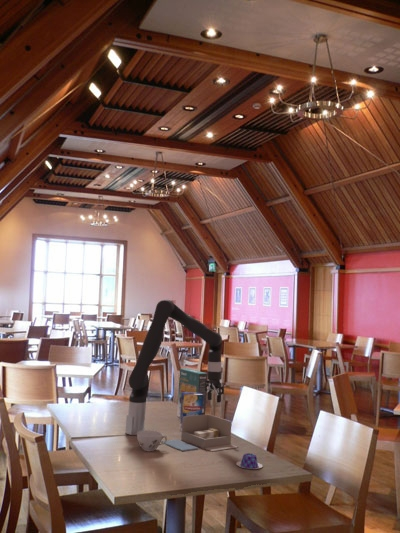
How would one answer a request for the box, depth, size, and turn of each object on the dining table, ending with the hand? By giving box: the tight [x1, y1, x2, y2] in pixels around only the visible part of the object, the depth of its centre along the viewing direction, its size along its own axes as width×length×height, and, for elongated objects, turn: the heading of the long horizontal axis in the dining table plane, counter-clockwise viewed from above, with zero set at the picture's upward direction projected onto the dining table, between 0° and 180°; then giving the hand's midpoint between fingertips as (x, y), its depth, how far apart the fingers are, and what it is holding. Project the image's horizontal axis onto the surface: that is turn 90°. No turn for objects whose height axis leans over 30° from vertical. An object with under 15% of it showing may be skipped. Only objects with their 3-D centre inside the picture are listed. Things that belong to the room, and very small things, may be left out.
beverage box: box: [179, 392, 203, 435], centre depth 312 cm, size 7×11×22 cm, turn 104°
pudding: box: [236, 452, 263, 470], centre depth 256 cm, size 12×12×5 cm
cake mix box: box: [176, 368, 208, 418], centre depth 349 cm, size 22×6×30 cm, turn 34°
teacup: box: [136, 429, 168, 452], centre depth 273 cm, size 15×12×8 cm
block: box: [194, 428, 219, 439], centre depth 294 cm, size 13×5×6 cm, turn 128°
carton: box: [180, 413, 239, 452], centre depth 291 cm, size 18×26×12 cm
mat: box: [160, 439, 199, 452], centre depth 283 cm, size 10×18×1 cm, turn 38°
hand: (214, 401), depth 296 cm, fingers open, 8 cm apart
